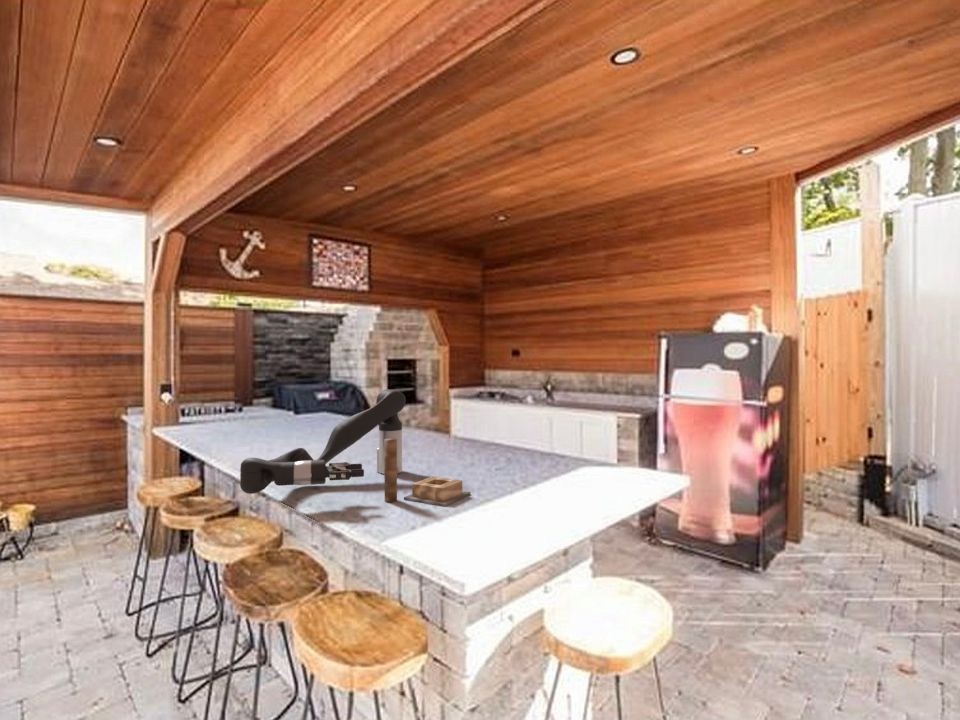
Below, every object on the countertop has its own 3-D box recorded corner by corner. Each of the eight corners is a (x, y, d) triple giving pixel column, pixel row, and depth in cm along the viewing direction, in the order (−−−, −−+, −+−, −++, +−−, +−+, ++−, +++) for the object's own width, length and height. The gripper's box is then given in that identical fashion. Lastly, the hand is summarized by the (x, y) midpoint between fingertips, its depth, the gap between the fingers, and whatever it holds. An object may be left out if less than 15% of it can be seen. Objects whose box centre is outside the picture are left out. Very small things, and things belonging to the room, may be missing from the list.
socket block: (403, 499, 177) (403, 484, 177) (431, 488, 191) (431, 474, 191) (445, 506, 169) (445, 490, 169) (470, 494, 183) (470, 479, 183)
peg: (382, 501, 175) (381, 439, 175) (389, 498, 179) (389, 438, 178) (391, 503, 173) (391, 441, 173) (399, 500, 177) (399, 439, 176)
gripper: (310, 479, 175) (361, 476, 180) (309, 490, 162) (364, 487, 166) (310, 456, 175) (361, 453, 180) (309, 465, 161) (364, 462, 166)
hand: (362, 469), depth 173 cm, fingers open, 8 cm apart
